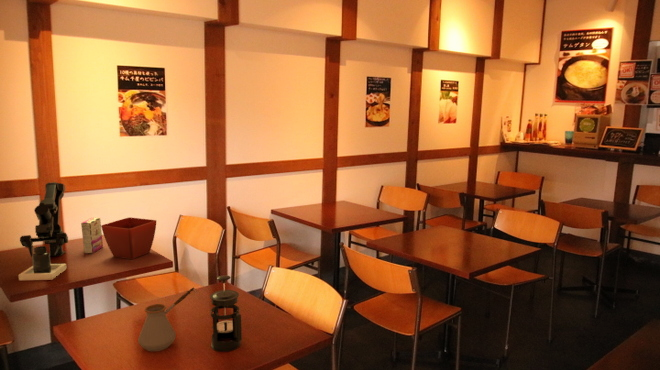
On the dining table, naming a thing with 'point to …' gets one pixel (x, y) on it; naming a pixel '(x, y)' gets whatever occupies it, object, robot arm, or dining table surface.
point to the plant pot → (129, 237)
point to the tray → (55, 271)
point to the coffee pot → (158, 327)
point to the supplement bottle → (41, 260)
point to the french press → (226, 327)
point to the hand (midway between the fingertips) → (43, 255)
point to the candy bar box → (92, 235)
